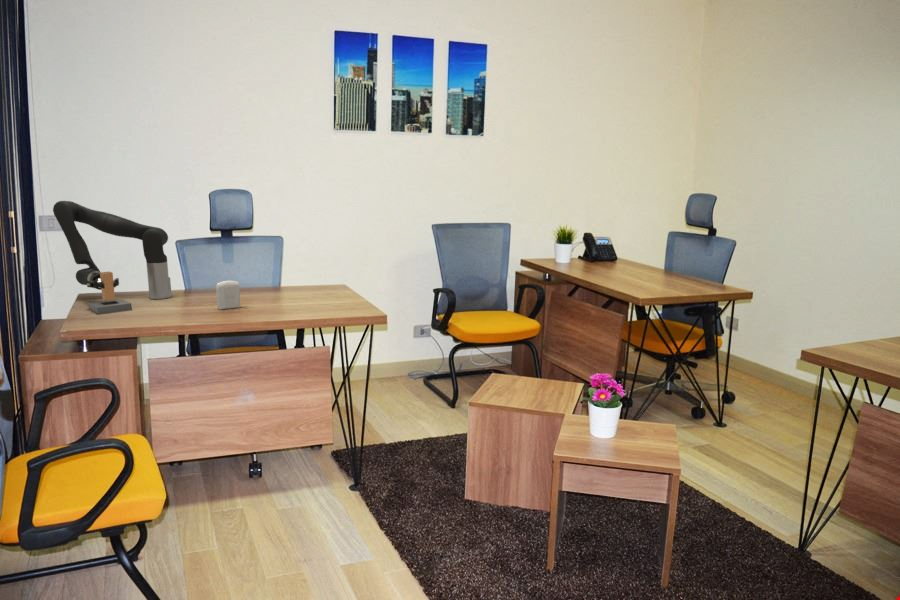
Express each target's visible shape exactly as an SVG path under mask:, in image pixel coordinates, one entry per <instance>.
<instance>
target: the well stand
mask: <svg viewBox="0 0 900 600" xmlns="http://www.w3.org/2000/svg"><path fill="white" fill-rule="evenodd" d="M87 304H88V310H89V311H91V312H93V313H94V314H96V315H103V314H112V313H113V314H114V313H120V312H127V311H132V310H133V309H132V308H133V307H132V303H131V302H130V301H128V300H126V299H123V298H115V300H108V301H105V300H99V301H91V302H88V303H87Z"/></svg>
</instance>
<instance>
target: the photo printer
mask: <svg viewBox="0 0 900 600" xmlns="http://www.w3.org/2000/svg"><path fill="white" fill-rule="evenodd" d="M240 291H241V290H240V283H239V282H238V281H236V280H223V281H220V282H218V283H216V285H215V292H216V293H215V294H216V309H217V310H228V309H237V308H241V294H240V293H241V292H240Z"/></svg>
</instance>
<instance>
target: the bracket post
mask: <svg viewBox="0 0 900 600" xmlns="http://www.w3.org/2000/svg"><path fill="white" fill-rule="evenodd" d="M113 274H114V273H113V272H111V271H100V278H101V283H104V286H105V288H104V289H103V288H101V289H102V290H101V297H102V301H108V300H115V299H116V295H115V287H114V284H113V280H114V275H113Z"/></svg>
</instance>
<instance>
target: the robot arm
mask: <svg viewBox="0 0 900 600" xmlns="http://www.w3.org/2000/svg"><path fill="white" fill-rule="evenodd" d="M52 211H53V215H54V217H55V218H56V220H57V223H58V224H59V226H60V229H61V230H62V232H63V234H64V236H65V238H66V240H67V243H68V245H69V248H70V251H71V254H72V257H73V258H74V259H73V260H74V262H75V264H76V265H87V267H86V268H82V269H79V270H77V271H76V273H75V279H76V281H77V282H78V283H79V284H80V285H82V286H83V285H84V286H86V287H87V288H92V289H96V290H101V291H102V289H101V288H103V289H104V288H105V286H104V283H101V278H100V272H101V271H100V269H99V268H98V266H97V264H96V263H95V262H94V260H93V258H92V256H91V253H90V251H89V248H88V245H87V243H86V241H85V239H84V238H83V236H82V235H81V234H80V232H79V230H78V228H77V226H76V224H75V222H76V223H81V224H85V225H89V226H91V227H92V228H94V229H96V230H98V231H100V232H103V233H105V234H109V235H112V236H117V237H122V238H129V239H130V238H131V239H137V240H141V242H142V249H143V256H144V258H145V262H146V272H147V283H148V296H149V299H151V300H164V299H168V298H173V297H172V295H173V294H172V285H171V277H169V276H170V275H169V267H168V257H167V255H166V254H165V251H164V245H165V244H167V242H168V240H169V236H168V233H167V232H166V231H165V230H164V229H163V228H161V227H156V226H150V225H147V224H142V223H140V222H139V223H138V222H136V221H134V220H131V219H127V218H125V217H122V216H119V215H115V214H113V213H109V212H106V211H99V210H95V209H91V208H88V207H85V206H83V205H81V204H80V203H77V202H74V201H71V200H60V201H57V202H55V204H54V205H53V207H52ZM119 279H120V278H118V277H116V278H114V279H113V284H114V288H116V287H118V286H120V285H119V284H120V280H119Z"/></svg>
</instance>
